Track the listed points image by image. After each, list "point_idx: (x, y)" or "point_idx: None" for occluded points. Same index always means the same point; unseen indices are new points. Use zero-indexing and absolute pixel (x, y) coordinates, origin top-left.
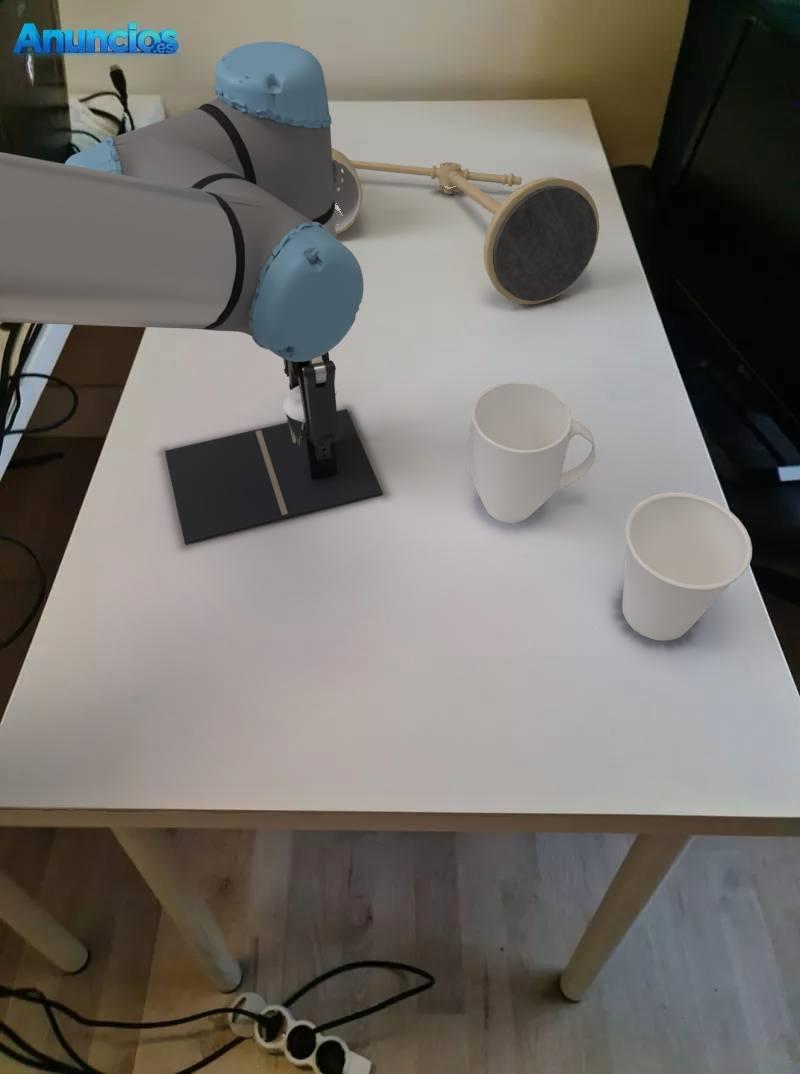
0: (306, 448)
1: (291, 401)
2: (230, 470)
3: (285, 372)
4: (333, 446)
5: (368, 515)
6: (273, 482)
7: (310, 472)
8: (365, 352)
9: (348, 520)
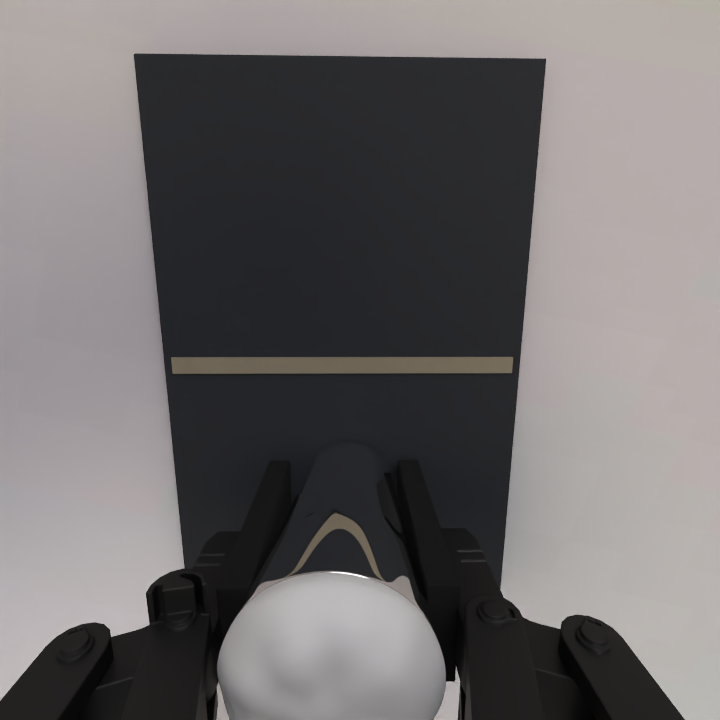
0: (268, 520)
1: (312, 653)
2: (384, 253)
3: (581, 635)
4: None
5: (136, 548)
6: (296, 361)
7: (270, 471)
8: (685, 677)
9: (130, 503)
